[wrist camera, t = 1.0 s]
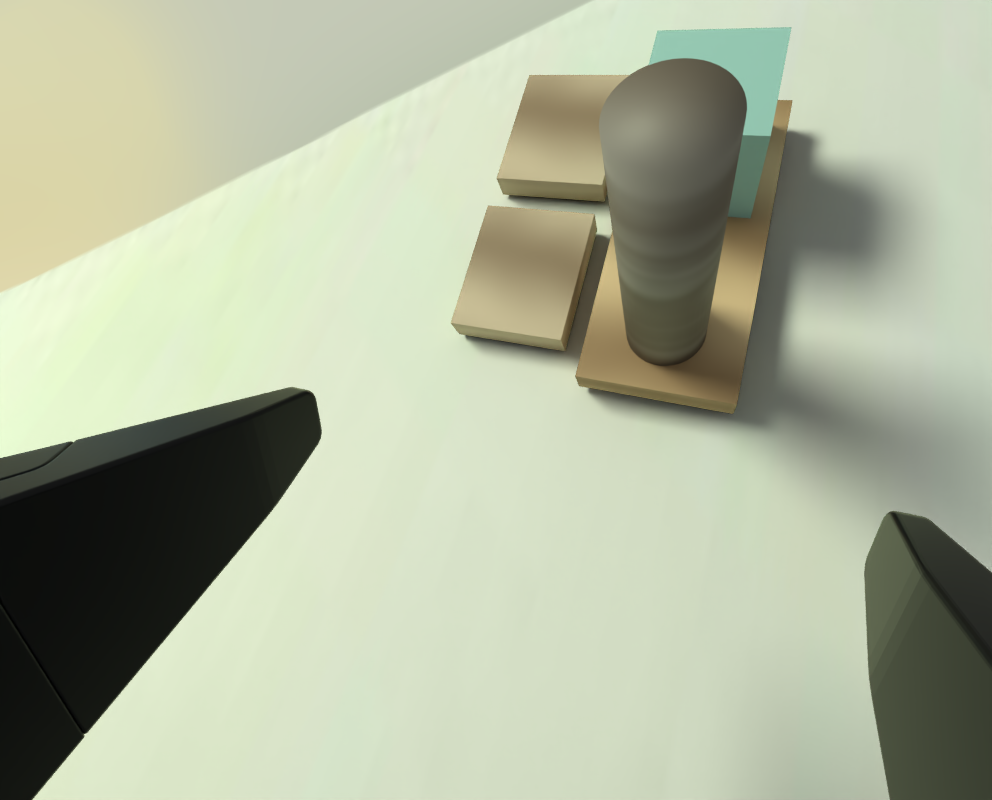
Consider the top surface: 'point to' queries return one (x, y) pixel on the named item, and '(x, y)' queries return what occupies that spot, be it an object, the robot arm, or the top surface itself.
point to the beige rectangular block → (539, 217)
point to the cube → (759, 73)
